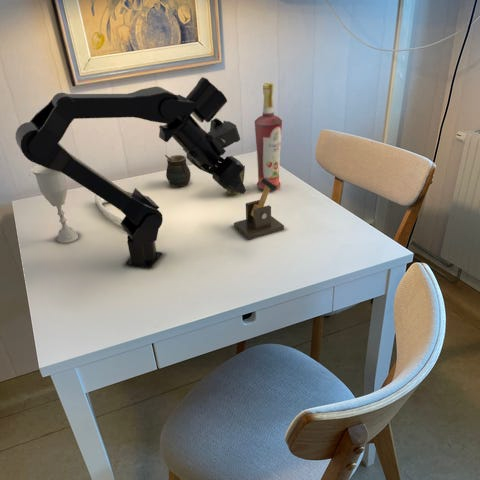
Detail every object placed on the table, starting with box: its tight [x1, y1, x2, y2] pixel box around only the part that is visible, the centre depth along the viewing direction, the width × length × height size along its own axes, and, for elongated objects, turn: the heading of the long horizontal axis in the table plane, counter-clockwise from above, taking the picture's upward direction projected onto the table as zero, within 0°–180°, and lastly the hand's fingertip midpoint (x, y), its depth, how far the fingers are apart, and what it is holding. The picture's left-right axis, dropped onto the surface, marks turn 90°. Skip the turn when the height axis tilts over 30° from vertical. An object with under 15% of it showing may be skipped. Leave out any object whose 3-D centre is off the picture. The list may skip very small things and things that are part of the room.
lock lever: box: [251, 178, 277, 216], centre depth 119 cm, size 9×5×2 cm
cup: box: [225, 164, 246, 197], centre depth 138 cm, size 8×7×8 cm
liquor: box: [254, 82, 283, 192], centre depth 134 cm, size 7×7×28 cm
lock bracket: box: [233, 199, 285, 240], centre depth 121 cm, size 10×8×6 cm
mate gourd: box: [164, 154, 192, 188], centre depth 145 cm, size 7×8×10 cm
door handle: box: [94, 194, 124, 225], centre depth 132 cm, size 3×10×25 cm
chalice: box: [31, 164, 79, 244], centre depth 118 cm, size 7×7×18 cm
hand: (235, 185), depth 114 cm, fingers open, 9 cm apart
